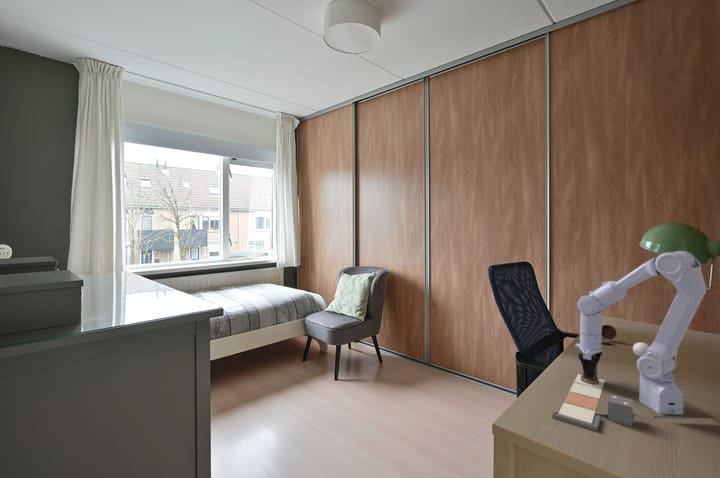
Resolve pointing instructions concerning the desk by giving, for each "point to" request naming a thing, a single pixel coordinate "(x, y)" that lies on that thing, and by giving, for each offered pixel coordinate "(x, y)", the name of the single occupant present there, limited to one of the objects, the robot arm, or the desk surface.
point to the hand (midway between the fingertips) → (589, 375)
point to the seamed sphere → (640, 349)
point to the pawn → (589, 380)
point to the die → (620, 410)
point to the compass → (608, 334)
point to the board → (577, 413)
